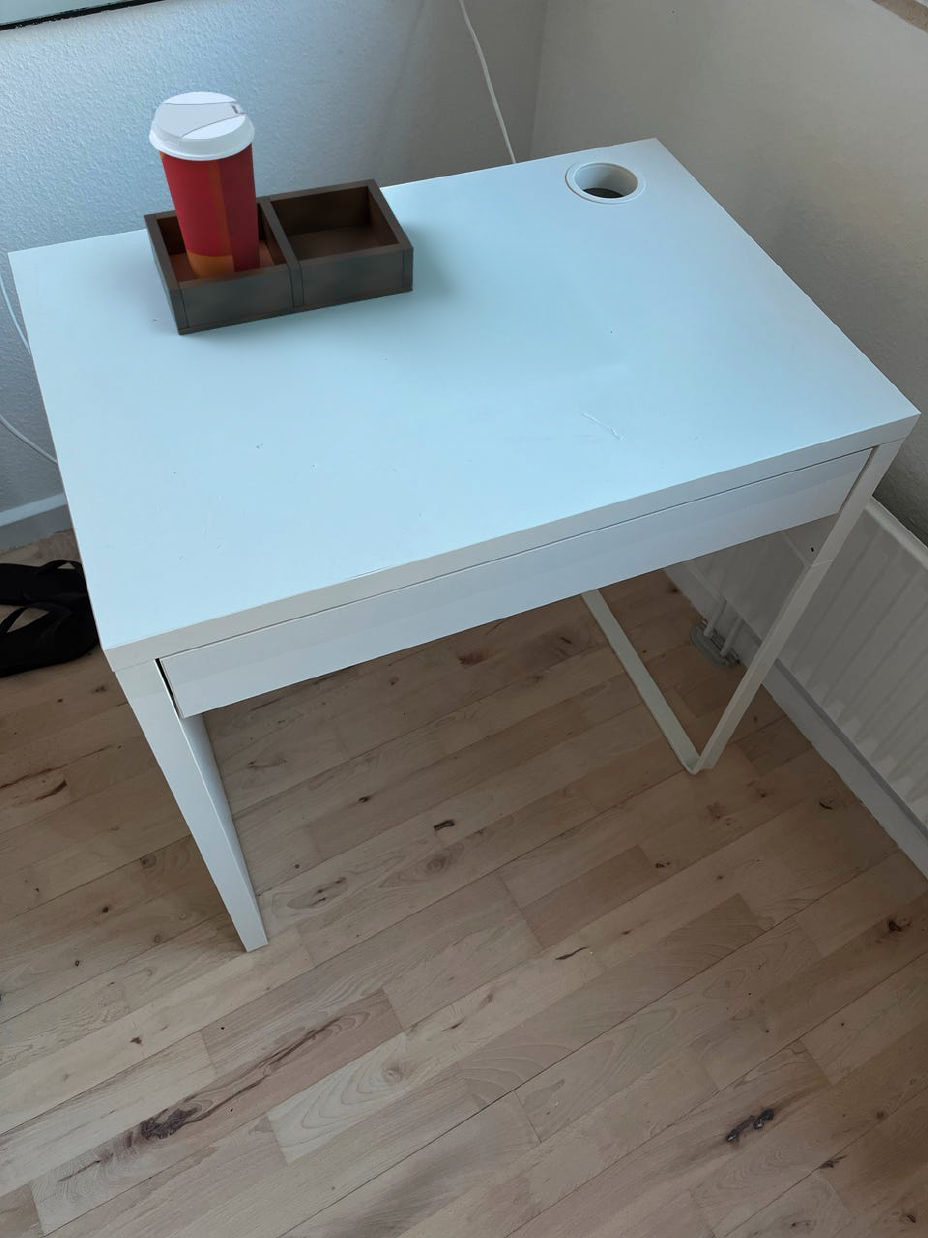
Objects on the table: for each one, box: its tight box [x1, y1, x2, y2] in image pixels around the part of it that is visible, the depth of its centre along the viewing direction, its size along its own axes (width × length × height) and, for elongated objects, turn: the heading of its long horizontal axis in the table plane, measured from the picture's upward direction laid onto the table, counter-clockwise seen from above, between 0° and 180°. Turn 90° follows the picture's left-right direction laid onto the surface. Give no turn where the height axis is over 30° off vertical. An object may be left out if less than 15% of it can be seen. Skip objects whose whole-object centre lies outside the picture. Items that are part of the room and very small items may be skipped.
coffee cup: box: [148, 91, 260, 279], centre depth 81 cm, size 8×8×15 cm
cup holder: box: [143, 178, 414, 336], centre depth 87 cm, size 22×12×5 cm, turn 111°
